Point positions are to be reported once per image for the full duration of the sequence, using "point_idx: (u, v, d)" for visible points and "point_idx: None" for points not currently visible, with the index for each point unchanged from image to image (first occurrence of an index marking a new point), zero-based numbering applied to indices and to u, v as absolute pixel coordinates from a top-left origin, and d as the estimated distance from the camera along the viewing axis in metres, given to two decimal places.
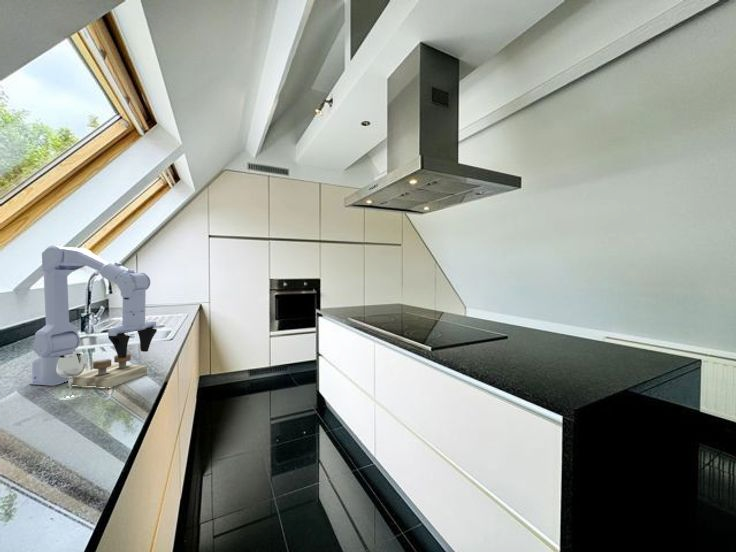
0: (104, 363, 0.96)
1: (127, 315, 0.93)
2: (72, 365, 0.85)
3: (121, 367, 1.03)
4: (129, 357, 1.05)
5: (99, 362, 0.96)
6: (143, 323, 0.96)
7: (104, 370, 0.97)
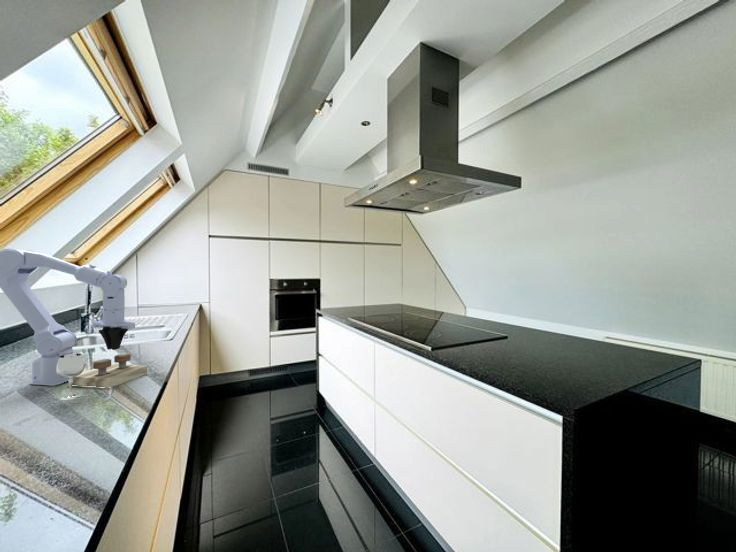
0: (104, 363, 0.96)
1: None
2: (72, 365, 0.85)
3: (121, 367, 1.03)
4: (129, 357, 1.05)
5: (99, 362, 0.96)
6: (107, 322, 1.01)
7: (104, 370, 0.97)
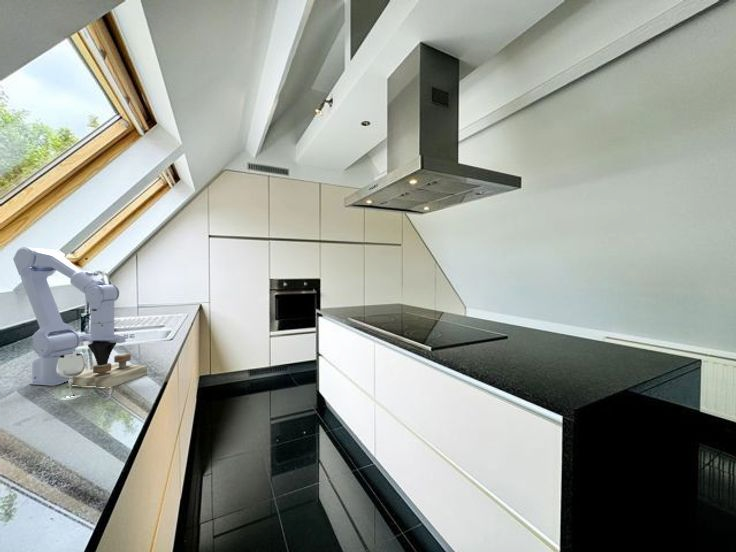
0: (104, 367, 0.96)
1: None
2: (72, 365, 0.85)
3: (121, 367, 1.03)
4: (129, 357, 1.05)
5: (99, 366, 0.96)
6: (96, 335, 0.95)
7: (104, 374, 0.97)
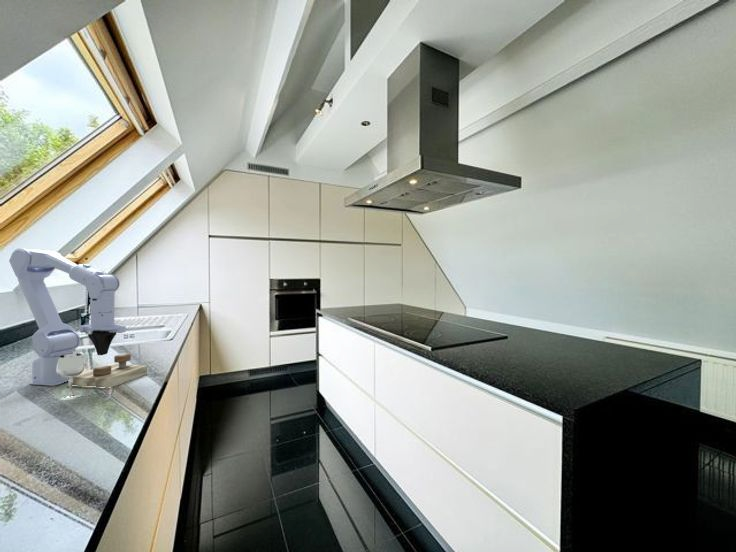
0: (104, 370, 0.96)
1: None
2: (72, 365, 0.85)
3: (121, 367, 1.03)
4: (129, 357, 1.05)
5: (99, 369, 0.96)
6: (96, 325, 0.95)
7: None
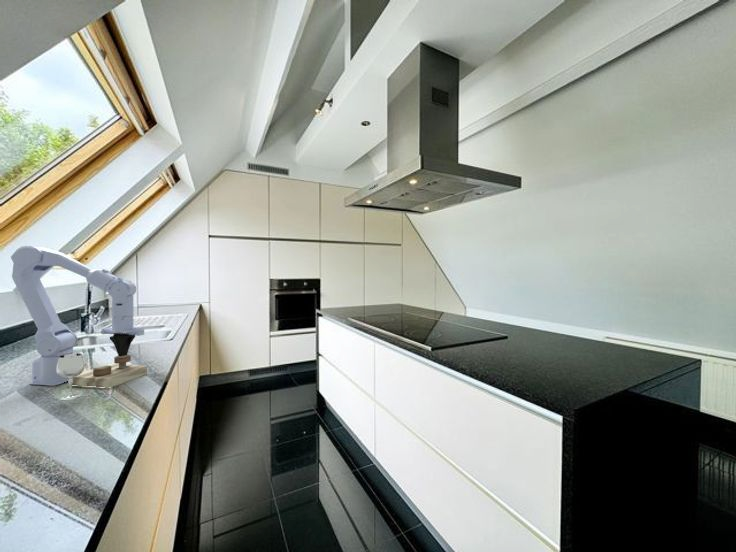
0: (104, 370, 0.96)
1: None
2: (72, 365, 0.85)
3: (121, 368, 1.03)
4: (129, 358, 1.05)
5: (99, 369, 0.96)
6: (117, 328, 1.01)
7: None
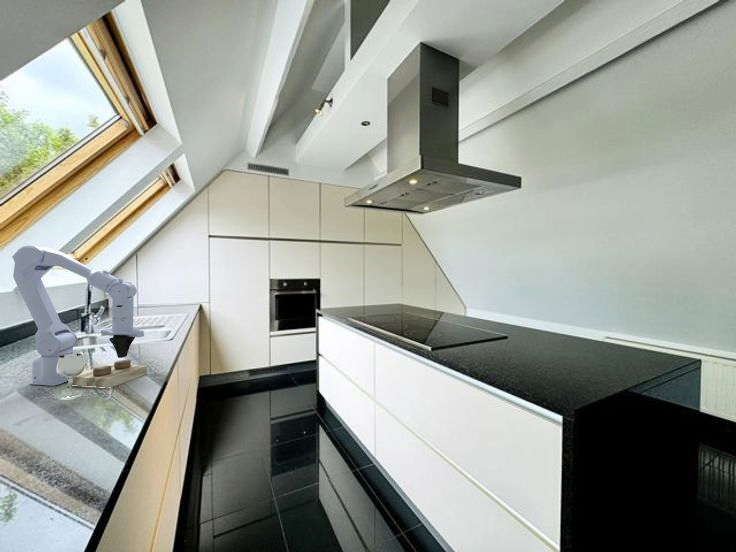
0: (104, 370, 0.96)
1: None
2: (72, 365, 0.85)
3: None
4: (129, 363, 1.05)
5: (99, 369, 0.96)
6: (117, 330, 1.01)
7: None
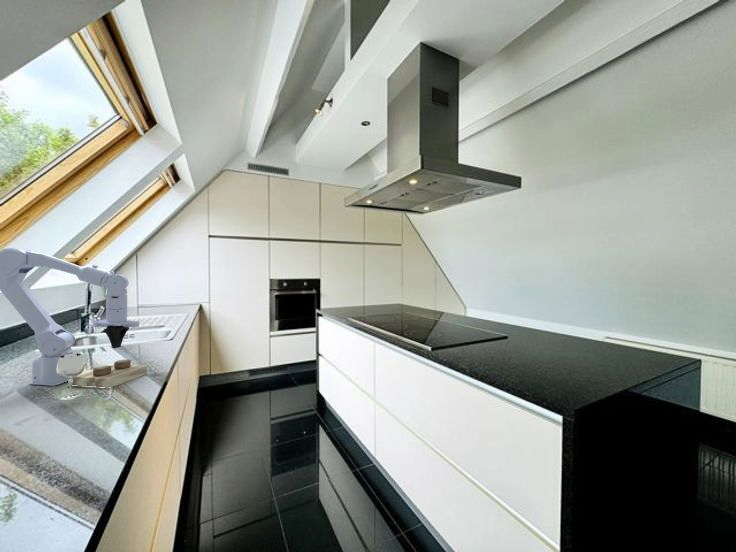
0: (104, 370, 0.96)
1: None
2: (72, 365, 0.85)
3: None
4: (129, 363, 1.05)
5: (99, 369, 0.96)
6: (112, 320, 1.04)
7: None
